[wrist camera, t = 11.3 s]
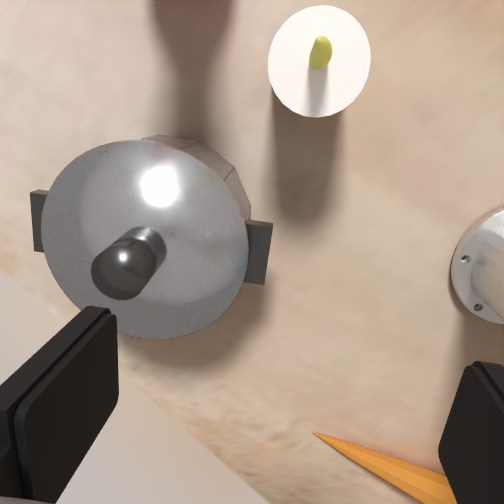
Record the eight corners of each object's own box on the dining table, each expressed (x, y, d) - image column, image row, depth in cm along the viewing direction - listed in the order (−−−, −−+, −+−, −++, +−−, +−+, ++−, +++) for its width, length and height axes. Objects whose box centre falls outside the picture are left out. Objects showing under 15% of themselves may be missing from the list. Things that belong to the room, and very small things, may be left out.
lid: (259, 148, 29) (251, 162, 22) (242, 333, 35) (232, 390, 28) (49, 128, 30) (-22, 135, 23) (66, 313, 36) (13, 364, 29)
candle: (295, 130, 36) (304, 146, 22) (258, 62, 34) (241, 33, 20) (359, 90, 34) (411, 80, 20) (323, 18, 33) (354, -47, 19)
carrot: (459, 476, 50) (480, 497, 45) (445, 509, 50) (464, 534, 45) (315, 407, 50) (321, 421, 46) (300, 440, 50) (305, 457, 45)
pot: (282, 152, 37) (282, 166, 28) (261, 293, 42) (255, 341, 34) (77, 123, 37) (17, 128, 29) (81, 267, 42) (31, 307, 34)
